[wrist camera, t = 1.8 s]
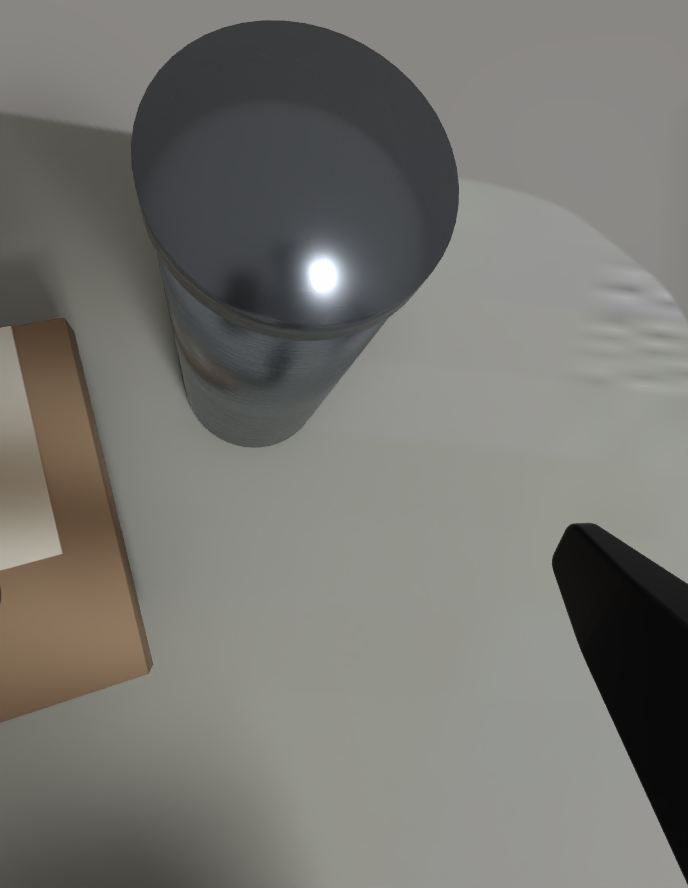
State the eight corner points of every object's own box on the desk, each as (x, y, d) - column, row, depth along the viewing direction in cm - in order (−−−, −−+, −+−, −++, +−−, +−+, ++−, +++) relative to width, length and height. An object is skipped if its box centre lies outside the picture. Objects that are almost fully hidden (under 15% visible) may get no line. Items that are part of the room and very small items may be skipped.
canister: (336, 432, 22) (496, 291, 9) (201, 465, 21) (177, 354, 8) (301, 306, 22) (408, 13, 10) (167, 330, 21) (95, 29, 9)
